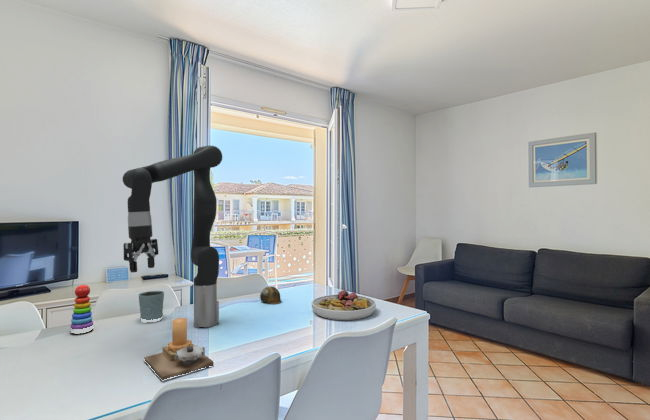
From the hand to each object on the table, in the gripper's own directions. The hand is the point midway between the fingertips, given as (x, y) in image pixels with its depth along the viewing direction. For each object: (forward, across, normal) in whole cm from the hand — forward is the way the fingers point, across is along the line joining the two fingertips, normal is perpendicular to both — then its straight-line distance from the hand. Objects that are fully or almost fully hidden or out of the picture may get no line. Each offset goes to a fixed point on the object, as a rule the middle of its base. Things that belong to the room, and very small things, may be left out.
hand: (142, 269), depth 126 cm
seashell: (+30, +64, -21) cm, 74 cm away
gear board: (+28, -12, -21) cm, 36 cm away
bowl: (+32, +55, -62) cm, 88 cm away
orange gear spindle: (+26, -8, -19) cm, 33 cm away
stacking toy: (+26, +6, +35) cm, 44 cm away
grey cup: (+27, +25, +18) cm, 41 cm away
